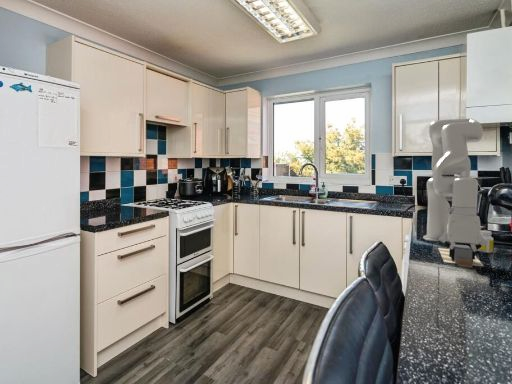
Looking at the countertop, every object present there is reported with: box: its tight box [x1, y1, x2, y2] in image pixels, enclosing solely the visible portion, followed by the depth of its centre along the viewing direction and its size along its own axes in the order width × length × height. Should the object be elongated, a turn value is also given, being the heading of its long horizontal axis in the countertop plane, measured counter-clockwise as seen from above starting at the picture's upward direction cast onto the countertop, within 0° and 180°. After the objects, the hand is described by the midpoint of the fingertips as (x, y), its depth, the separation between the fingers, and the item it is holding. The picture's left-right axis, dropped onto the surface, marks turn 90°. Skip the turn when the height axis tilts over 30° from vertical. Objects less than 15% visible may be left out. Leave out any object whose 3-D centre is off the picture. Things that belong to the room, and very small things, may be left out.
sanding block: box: [454, 244, 472, 264], centre depth 112 cm, size 8×5×5 cm, turn 154°
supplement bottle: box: [476, 229, 494, 254], centre depth 126 cm, size 5×5×10 cm
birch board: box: [437, 247, 485, 267], centre depth 118 cm, size 22×12×2 cm, turn 154°
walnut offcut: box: [456, 258, 474, 269], centre depth 107 cm, size 4×4×2 cm
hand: (461, 259), depth 112 cm, fingers closed on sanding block, 5 cm apart
